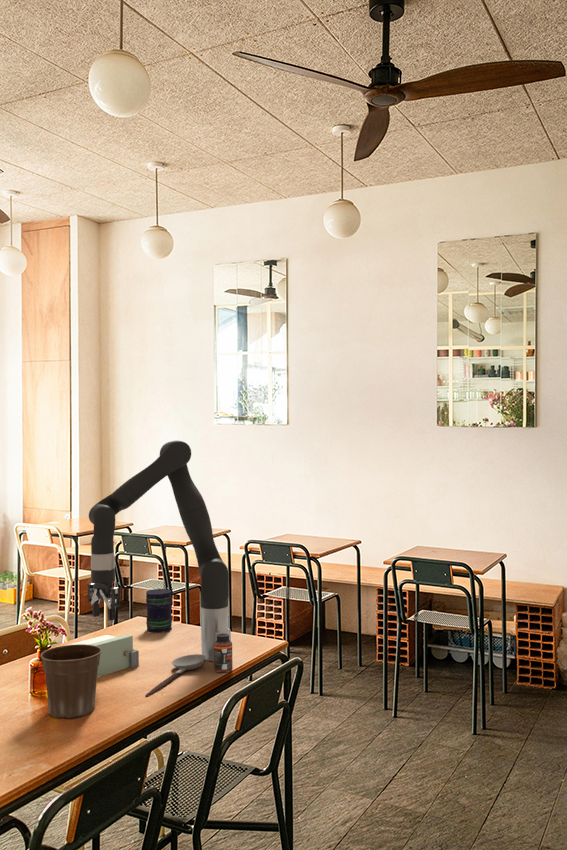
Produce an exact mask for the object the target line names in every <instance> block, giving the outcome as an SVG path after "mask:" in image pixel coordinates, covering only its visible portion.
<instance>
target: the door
mask: <svg viewBox="0 0 567 850" xmlns="http://www.w3.org/2000/svg"><path fill="white" fill-rule="evenodd" d="M114 637H115V638H112V639H108V640H104V641H100V642H96V643H93V644H89V645H94V646H98V647H100V648H101V649H102V653H101V654H100V661H99V666H98V671H97V678H99V677H102V676H105V675H108V674H109V675H110V674H112V673H116V672H118V671H122V670H125V669H129V668H130V652H132V651H133V649H134V641H133V640H134V639H133V638H134V637H133V635H131V634H124V635H119V636H114Z"/></svg>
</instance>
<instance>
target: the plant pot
mask: <svg viewBox="0 0 567 850" xmlns="http://www.w3.org/2000/svg"><path fill="white" fill-rule="evenodd" d="M101 653H102V649H101V648H100V647H98V646H94V645H86V644H77V645H69V644H66V646H65V645H60V646H57V647H56V646H54V647H52V648H48V649H47V650H44V651H42V652H41V653H40V659H41V660H42V668H43V669H42V670H43V671H44V676H45V687H46V697H47V707H48V709H47V711H48V715H50V716H51V717H53V718H57V719H62V718H63V717H64V718H66V719H72V718H81V717H83V716H86V715H88V714H91V713H92V712H93V710H94V709H95V707H96V706H95V705H96V704H95V703H96V695H97V694H96V693H97V682H98V681H97V679H98V677H97V671H98V666H99V661H100V654H101Z"/></svg>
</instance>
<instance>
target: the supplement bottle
mask: <svg viewBox="0 0 567 850" xmlns="http://www.w3.org/2000/svg"><path fill="white" fill-rule="evenodd" d="M213 670H214V672H216V673H221V674H223V673H225V674H226V673H229V672H231V671H232V670H233V642H232V640H231V641H230V640H229V634H226V633H221V634H217V641H215V642H214V661H213Z"/></svg>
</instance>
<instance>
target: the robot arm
mask: <svg viewBox="0 0 567 850" xmlns="http://www.w3.org/2000/svg"><path fill="white" fill-rule="evenodd" d="M191 457H192V449H191V447H190V445H189V444H188V443H187V442H185V441H183V440H171V441H168V442H166V443H164V444H163V445H162V446H161V448H160V450H159V455H158V457H157V458H156V459H155V460H154V461H152V462H151V464H149V465H148V466H147V467H145V468H144V469H142V470H141V471H139V472H138V473H136V474H135V475H134V476H132V477H130V478H129V479H128V480H126V481H125V482H123V484H121V485H120V486H119V487H117V488H116V490H114V491H113V492H112V493H110V494H109V495H106V497H104V498H103V499H101V500H100V501H98V502H97V503H96V504H94V505H93V506H92V507H91V508H90V510H89V512H88V519H89V522H90V523H91V524H92V525H93V534H92V535H93V536H92V537H91V541H90V550H91V551H90V553H91V554H90V581H91V583H88V584H87V602H88V603H90V606H92V610H91V611H92V612H91V613H92V617H95V618H96V617H99V616H100V611H101V610H100V602H101V600H102V601H104V603H105V604H106V605H107V607H108V610H107V611H108V613H107V614H108V617H107V618H108V620H109V621H115V620H116V617H117V607H118V608H119V607H120V606H121V592H120V591H121V590H120V587H119V586H117V587H114V586H113V584H114V582H115V581H116V558H115V547H114V545H115V543H114V536H115V529H116V515H118V514H119V513H120V512H121V511H124V510H127V509H128V508H130V507H131V506H132V505H133V504H134V503H136V502H137V501H139V499H141V498H142V497H143V496H144V495H145V494H146V493H147V492H148V491H149V490H151V489H152V488H153V487H154V486H155V485H157V484H158V483H159V482H161V481H162V480H163V479H164V478H166V477H167V478H168V480H169V483H170V485H171V489H172V492H173V496H174V499H175V502H176V506H177V509H178V513H179V516H180V519H181V523H182V524H183V527H184V529H185V532H186V534H187V537H188V539H189V540H190V541H189V542H190V543H191V545H192V547H193V550H194V553H195V557H196V561H197V566H198V571H199V572H198V573H199V576H200V581H201V583H200V585H201V588H200V589H201V592H200V594H201V595H200V630H201V631H200V637H201V638H200V639H201V642H200V643H201V655H204V656H205V657H206V658H205V660H204V661H208V662H214V642H215V641H217V634H221V633H226V634H229V640H230V641H231V642H232V637H231V636H232V635H231V634H232V632H231V629H230V628H229V596H230V594H229V592H230V591H229V590H230V588H229V587H230V584H229V583H230V582H229V581H230V579H229V578H230V577H229V575H230V574H229V573H230V572H229V568H228V566H227V565H226V564H225V562H224V561H223V559H222V558H221V555H220V552H219V551H218V547H217V545H216V543H215V539H214V533H213V528H212V523H211V517H210V514H209V511H208V507H207V505H206V501H205V500H204V498H203V496H202V493H201V492H200V491H199V489H198V488H197V486H196V485H195V482H194V481H193V479H192V477H191V474H190V471H189V467H188V463H189V462H190V460H191Z"/></svg>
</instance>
